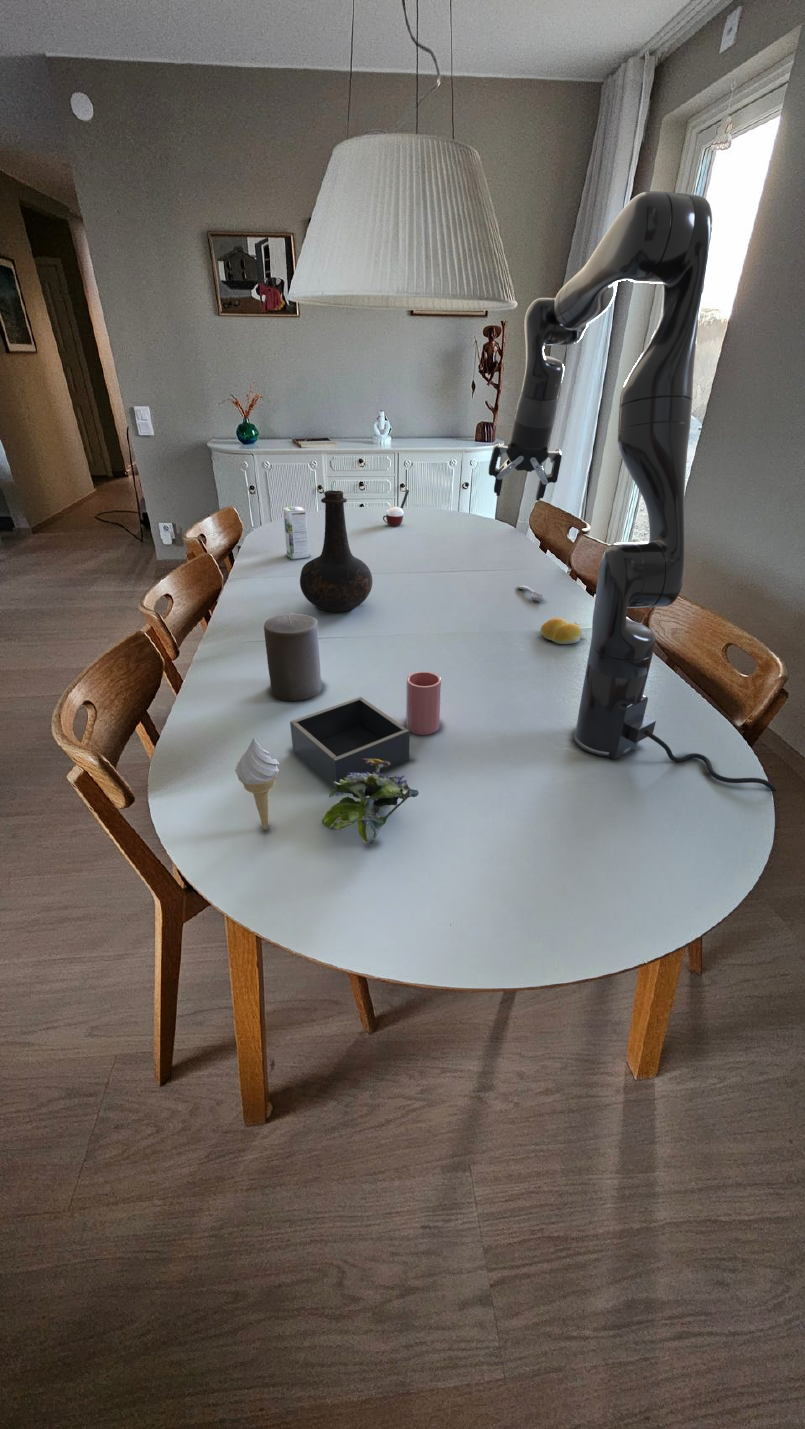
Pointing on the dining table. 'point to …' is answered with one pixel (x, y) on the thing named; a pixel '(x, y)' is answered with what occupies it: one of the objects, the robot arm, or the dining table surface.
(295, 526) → the syrup box
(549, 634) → the bread roll
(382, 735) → the dark grey open box
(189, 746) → the dining table surface
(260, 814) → the ice cream cone
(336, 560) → the glass bottle
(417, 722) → the cup
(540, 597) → the spoon
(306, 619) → the pillar candle
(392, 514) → the cocoa
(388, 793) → the passion flower
